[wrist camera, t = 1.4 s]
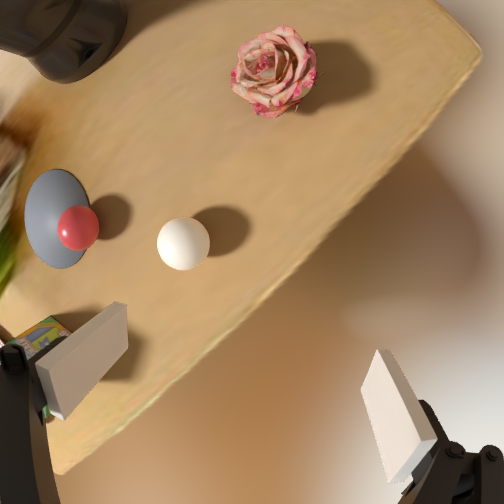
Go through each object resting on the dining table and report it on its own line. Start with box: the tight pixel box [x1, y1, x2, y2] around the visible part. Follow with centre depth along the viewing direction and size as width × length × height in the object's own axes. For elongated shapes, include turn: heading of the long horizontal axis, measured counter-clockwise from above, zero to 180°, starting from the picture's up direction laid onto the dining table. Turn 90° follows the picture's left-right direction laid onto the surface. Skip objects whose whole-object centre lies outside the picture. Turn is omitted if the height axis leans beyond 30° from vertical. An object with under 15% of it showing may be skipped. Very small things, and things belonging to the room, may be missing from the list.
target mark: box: [25, 169, 89, 269], centre depth 34 cm, size 14×14×1 cm
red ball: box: [57, 205, 99, 251], centre depth 31 cm, size 6×6×6 cm
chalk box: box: [5, 316, 72, 419], centre depth 32 cm, size 9×9×15 cm
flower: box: [231, 24, 325, 117], centre depth 25 cm, size 10×9×8 cm
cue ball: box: [157, 217, 210, 270], centre depth 30 cm, size 6×6×6 cm
